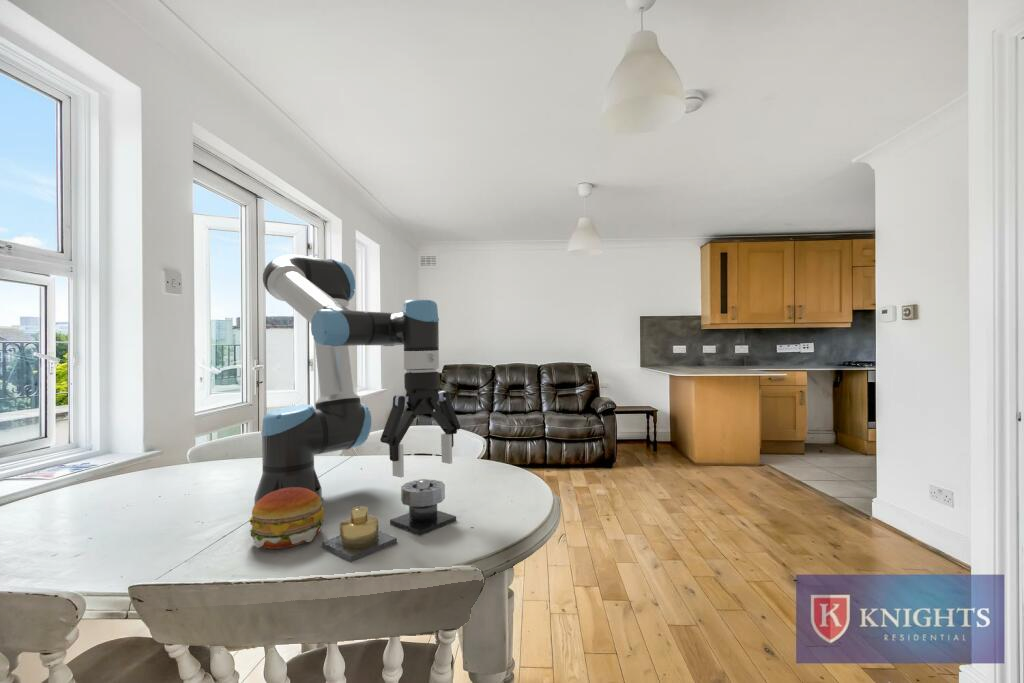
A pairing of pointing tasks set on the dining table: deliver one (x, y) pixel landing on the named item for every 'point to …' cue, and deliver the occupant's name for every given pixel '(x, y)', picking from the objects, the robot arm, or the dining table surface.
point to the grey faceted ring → (422, 494)
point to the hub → (358, 536)
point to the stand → (422, 516)
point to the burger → (286, 518)
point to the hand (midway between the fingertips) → (423, 469)
